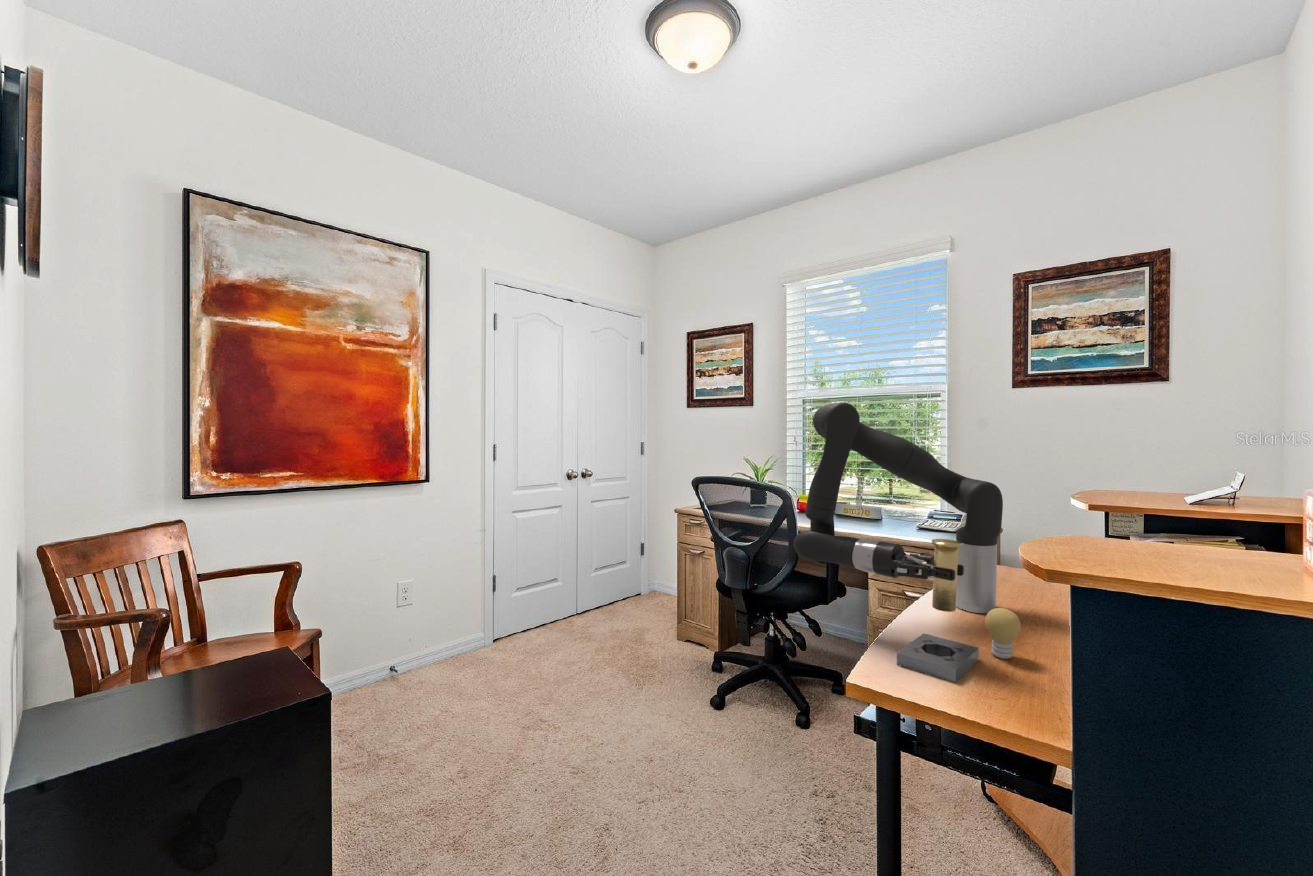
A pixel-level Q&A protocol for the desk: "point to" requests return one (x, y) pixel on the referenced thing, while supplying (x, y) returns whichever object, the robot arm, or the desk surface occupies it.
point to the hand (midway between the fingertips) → (958, 573)
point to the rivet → (944, 588)
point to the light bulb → (1002, 631)
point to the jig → (938, 657)
